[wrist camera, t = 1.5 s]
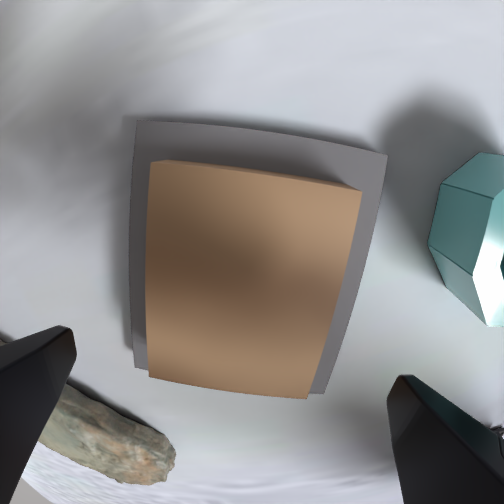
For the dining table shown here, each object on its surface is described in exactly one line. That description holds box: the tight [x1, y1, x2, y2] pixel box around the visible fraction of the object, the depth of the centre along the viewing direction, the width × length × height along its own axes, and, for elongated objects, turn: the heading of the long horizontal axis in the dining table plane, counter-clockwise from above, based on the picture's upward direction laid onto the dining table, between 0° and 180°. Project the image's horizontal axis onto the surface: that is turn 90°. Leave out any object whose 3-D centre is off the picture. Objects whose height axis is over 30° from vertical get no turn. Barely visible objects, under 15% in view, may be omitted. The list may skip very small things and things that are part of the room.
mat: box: [129, 120, 388, 394], centre depth 14 cm, size 12×10×1 cm
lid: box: [145, 160, 362, 399], centre depth 12 cm, size 9×7×2 cm
